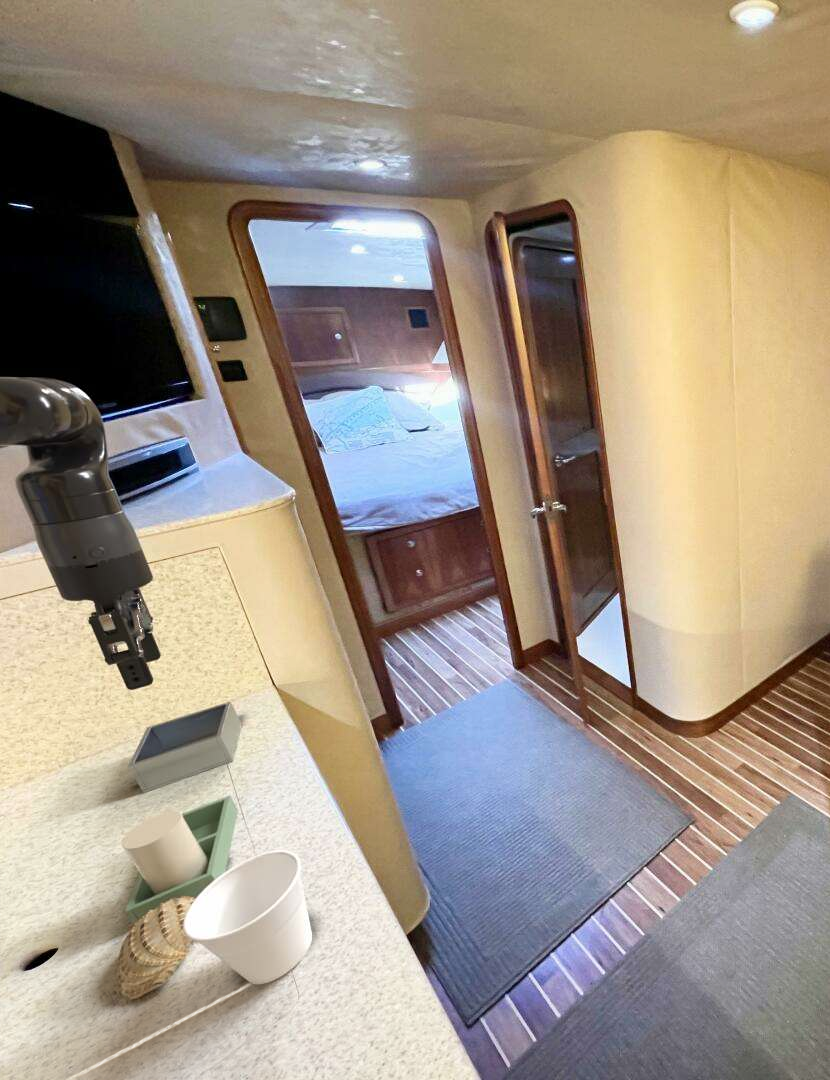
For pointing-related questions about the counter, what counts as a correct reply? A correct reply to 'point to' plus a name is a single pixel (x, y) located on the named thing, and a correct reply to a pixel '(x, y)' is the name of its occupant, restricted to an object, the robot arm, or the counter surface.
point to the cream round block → (165, 851)
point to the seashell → (153, 948)
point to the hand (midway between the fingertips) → (146, 673)
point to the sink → (186, 746)
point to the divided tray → (215, 839)
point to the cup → (254, 917)
